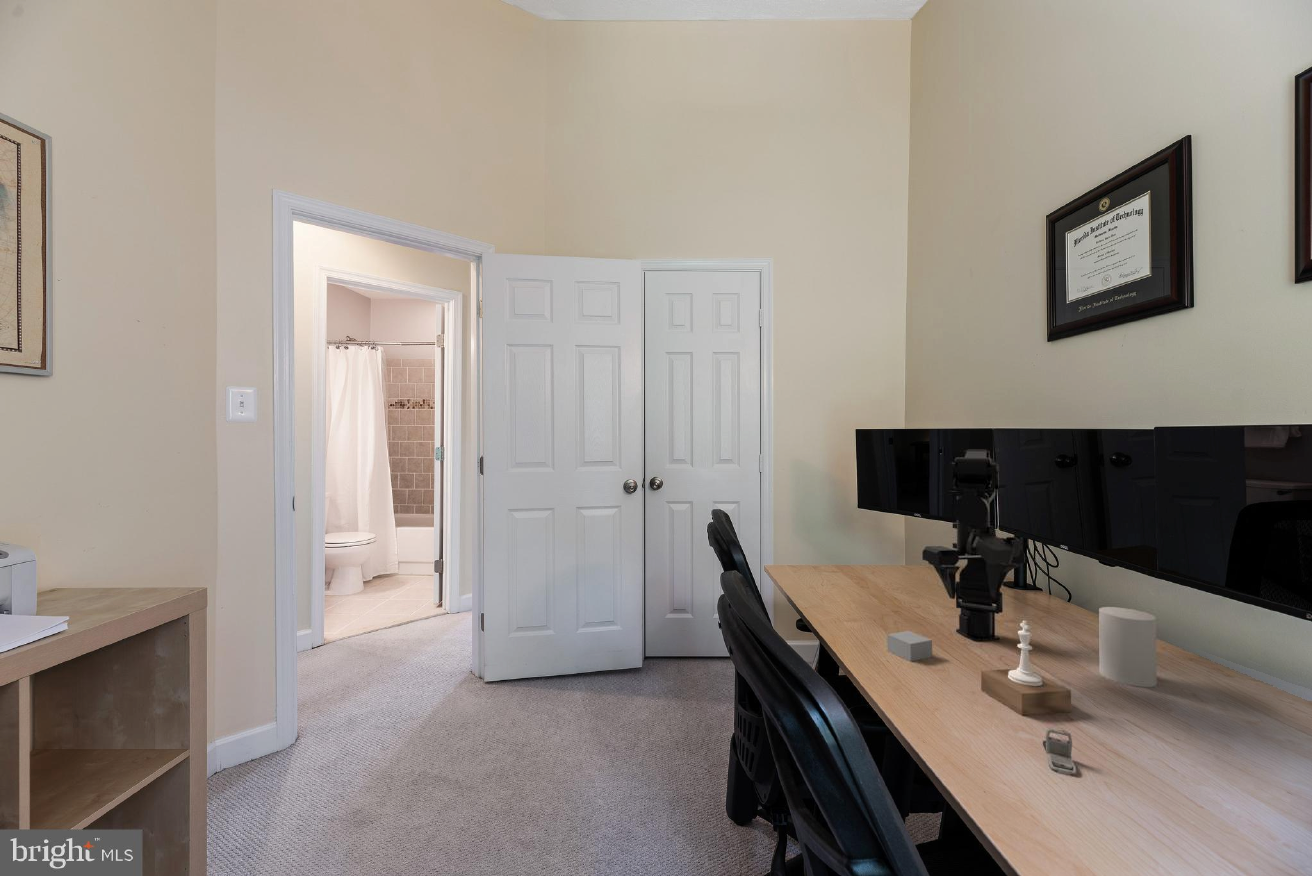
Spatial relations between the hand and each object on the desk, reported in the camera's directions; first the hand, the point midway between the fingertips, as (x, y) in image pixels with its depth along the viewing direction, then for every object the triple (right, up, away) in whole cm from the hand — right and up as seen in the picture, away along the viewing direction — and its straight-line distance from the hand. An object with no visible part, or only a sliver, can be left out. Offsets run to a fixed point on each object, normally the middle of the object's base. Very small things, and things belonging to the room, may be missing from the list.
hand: (973, 597), depth 110 cm
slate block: (-11, -13, +4) cm, 17 cm away
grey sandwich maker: (-7, -13, -33) cm, 37 cm away
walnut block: (-1, -13, -16) cm, 21 cm away
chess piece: (-1, -10, -16) cm, 19 cm away
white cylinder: (+25, -13, -7) cm, 29 cm away
